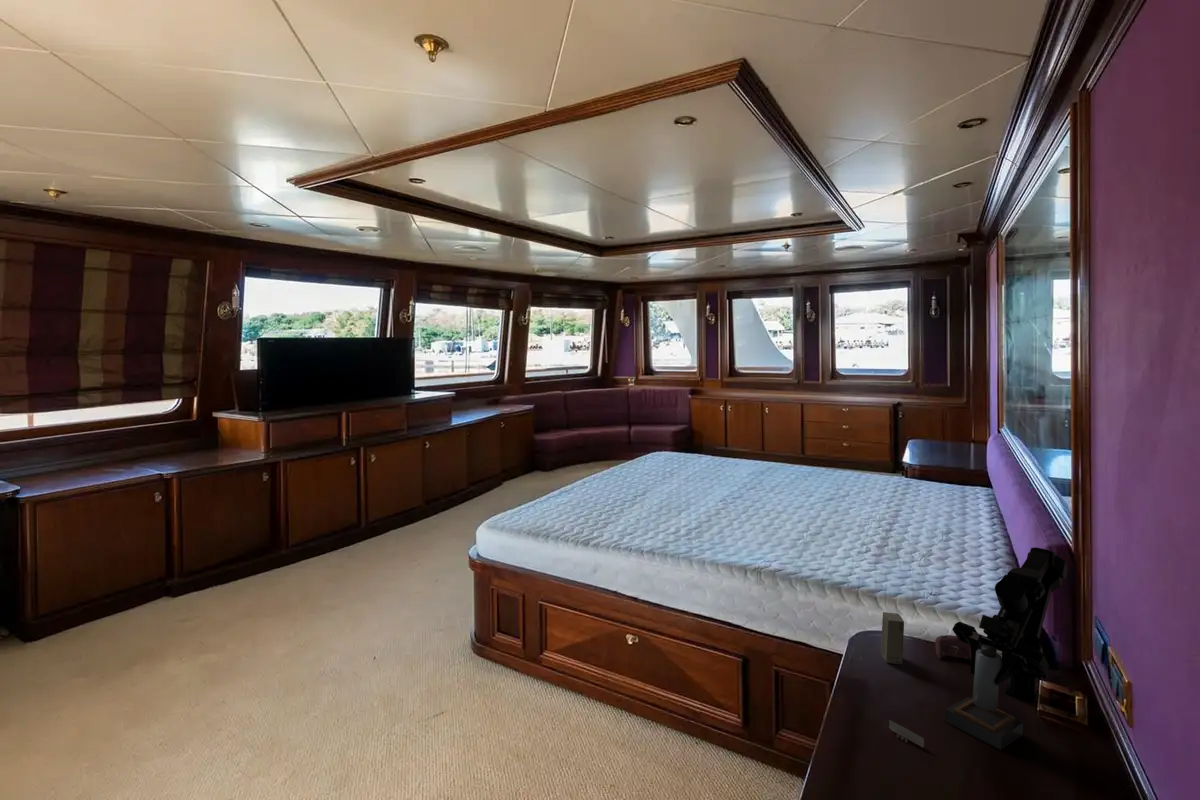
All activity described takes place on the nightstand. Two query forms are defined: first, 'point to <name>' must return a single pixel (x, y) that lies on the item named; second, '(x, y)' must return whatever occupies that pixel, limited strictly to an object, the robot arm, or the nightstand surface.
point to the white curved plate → (906, 734)
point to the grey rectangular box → (984, 723)
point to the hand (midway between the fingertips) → (983, 678)
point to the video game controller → (950, 640)
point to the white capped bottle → (986, 678)
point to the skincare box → (892, 638)
